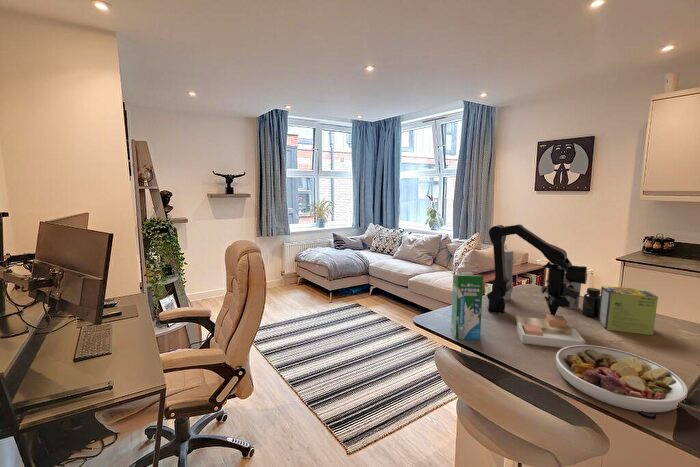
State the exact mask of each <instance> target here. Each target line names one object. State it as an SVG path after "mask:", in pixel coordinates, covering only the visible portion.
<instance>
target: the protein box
mask: <svg viewBox="0 0 700 467" xmlns="http://www.w3.org/2000/svg"><path fill="white" fill-rule="evenodd" d="M600 288H601V289H600V296H601V297H600V307H599V316H598V318H597V321H598V322H599V323H600V325H602V326H603V328H604V329H605V330H607V331H613V332H614V331H615V332H622V333H632V334H639V335H648V336H653V335H654V330H655V322H656V315H657V307H658V300H659V299H658V298H659V296H657V295H656V294H654V293H652V292H650V291H649V290H647V289H646V288H635V287H634V288H633V287H624V286H623V287H620V286H606V285H601V287H600Z"/></svg>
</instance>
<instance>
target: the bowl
mask: <svg viewBox="0 0 700 467" xmlns="http://www.w3.org/2000/svg"><path fill="white" fill-rule="evenodd" d="M555 364H556V368H557V370H558V371H559V373H560V374H561V376H562V377H563V378H564V379H565V380H566V382H568V383H569V384H570V385H572V387H574V388H576V389H577V390H578V391H580V392H582V393H583V394H585V395H587V396H589V397H591V398H593V399H595V400H597V401H600V402H603V403H605V404H608V405H610V406H614V407H618V408H621V409H626V410H630V411H634V412H641V411H643V412H642V413H666V412H669V411H673V410H675V409H678V407H677V405H678V402H680V401H682V400H684V399H685V398H686V399H687V396H688V386H687V384H686V383H685V382H684V380H683V379H682V378H680V377H679V376H678V375H677V374H676V373H674V372H673V371H671V370H670V369H668V368H666V367H664V366H662V365H660V364H659V363H657V362H654V361H653V360H650V359H648V358H645V357H643V356H639V355H637V354H634V353H631V352H628V351H624V350H620V349H616V348H611V347H605V346H598V345H589V344H586V345H574V346H568V347H564V348H559V350H558V351H557V353H556V355H555Z"/></svg>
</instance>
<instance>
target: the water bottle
mask: <svg viewBox="0 0 700 467" xmlns="http://www.w3.org/2000/svg"><path fill="white" fill-rule="evenodd" d="M504 253H505V270H506V277H507V279H508V280H509V279H511V287H512V288H511V289H510V291H509V292H508V293H507V294H506V295H505V296H504V297H503V298H504V301H505V300H506V301H511V298H512V293H513V291H514V290H513V289H514V284H513V283H514V282H513V280H514V279H513V272H514V268H513V267H514V264H515V263H516V261H515V259H514V250H511V249H505V248H504ZM506 301H505V302H506Z"/></svg>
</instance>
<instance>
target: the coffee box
mask: <svg viewBox="0 0 700 467" xmlns="http://www.w3.org/2000/svg"><path fill="white" fill-rule="evenodd" d="M564 283H565V284H566V285H567V284H571V285H573V286H574V289H576V290H577V291H579V292H580V294H579V296H578V298H577V300H576V299H573V298H572V297H569V296H567V295H566V297H565V298H566V299H567V300H568V301H569V302H570V307H564V309H565V308H566V309H568V310H572V309H579V306H580V305H579V304H580V297H581V290H582V288H581V287H582V284H581V283H575V282H569V281H568V280H567V279H566V271H565V275H564ZM561 297H563V296H561Z"/></svg>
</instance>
